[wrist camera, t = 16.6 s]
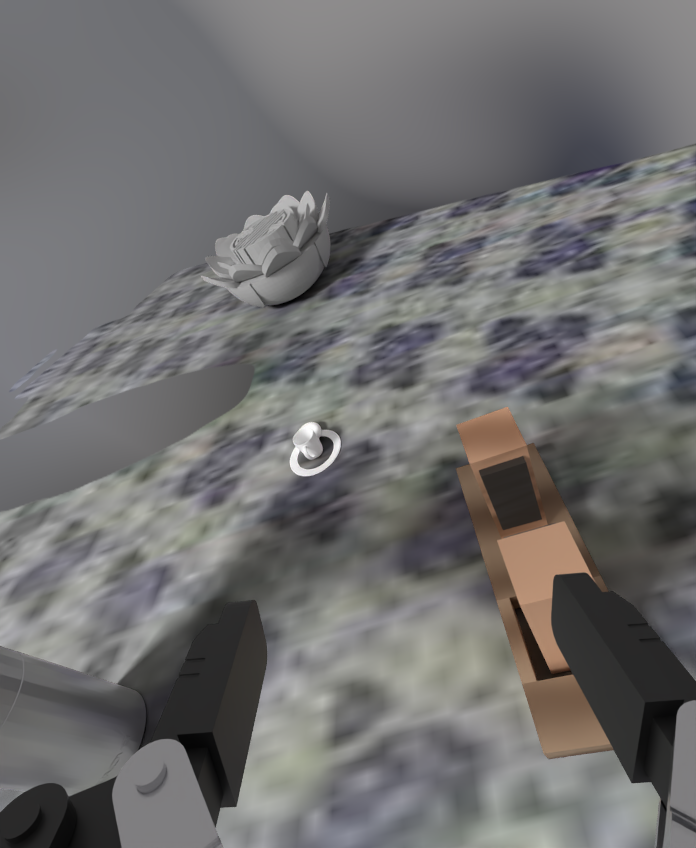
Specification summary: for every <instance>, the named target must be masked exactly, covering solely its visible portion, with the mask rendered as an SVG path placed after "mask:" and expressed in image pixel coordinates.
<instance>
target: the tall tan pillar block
mask: <svg viewBox="0 0 696 848" xmlns="http://www.w3.org/2000/svg"><path fill="white" fill-rule="evenodd" d="M497 542H498V545H499V548H500V551H501V553H502V556H503V559H504V562H505V565H506V568H507V570H508V573H509V576H510V579H511V582H512V585H513V587H514V590H515V593H516V596H517V599H518V601H519V604H520V607H521V609H522V611H523V613H524V615H525V617H526V620H527V622H528V624H529V626H530V628H531V630H532V633H533V635H534V637H535V639H536V641H537V643H538V645H539V648H540V650H541V652H542V654H543V656H544V658H545V660H546V663H547V665H548V667H549V669H550V671H551V673H552V674H555V673H560V672H565V671H570V668H569V666H568V664H567V662H566V660H565V659H564V657H563V655H562V653H561V651H560V649H559V647H558V645H557V643H556V641H555V638H554V635H553V631H552V625H551V610H552V592H553V579H554V576H555V575H559V574H570V573H582V572H585V573H587V574H589V575H590V577H591V578H592V579H593V577H592V575H591V573H590V571H589V569H588V567H587V565H586V563H585V561H584V559H583V557H582V555H581V553H580V551H579V549H578V547H577V545H576V543H575V541H574V539H573V537H572V535H571V533H570V531H569V529H568V527H567V525H566V523H565V521H563V522H559V523H552V524H549V525H545V526H542V527H538V528H535V529H531V530H528V531H524V532H521V533H517V534H514V535H510V536H507V537H503V539H500V540H497ZM593 580H594V579H593ZM594 582H595V581H594Z"/></svg>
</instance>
